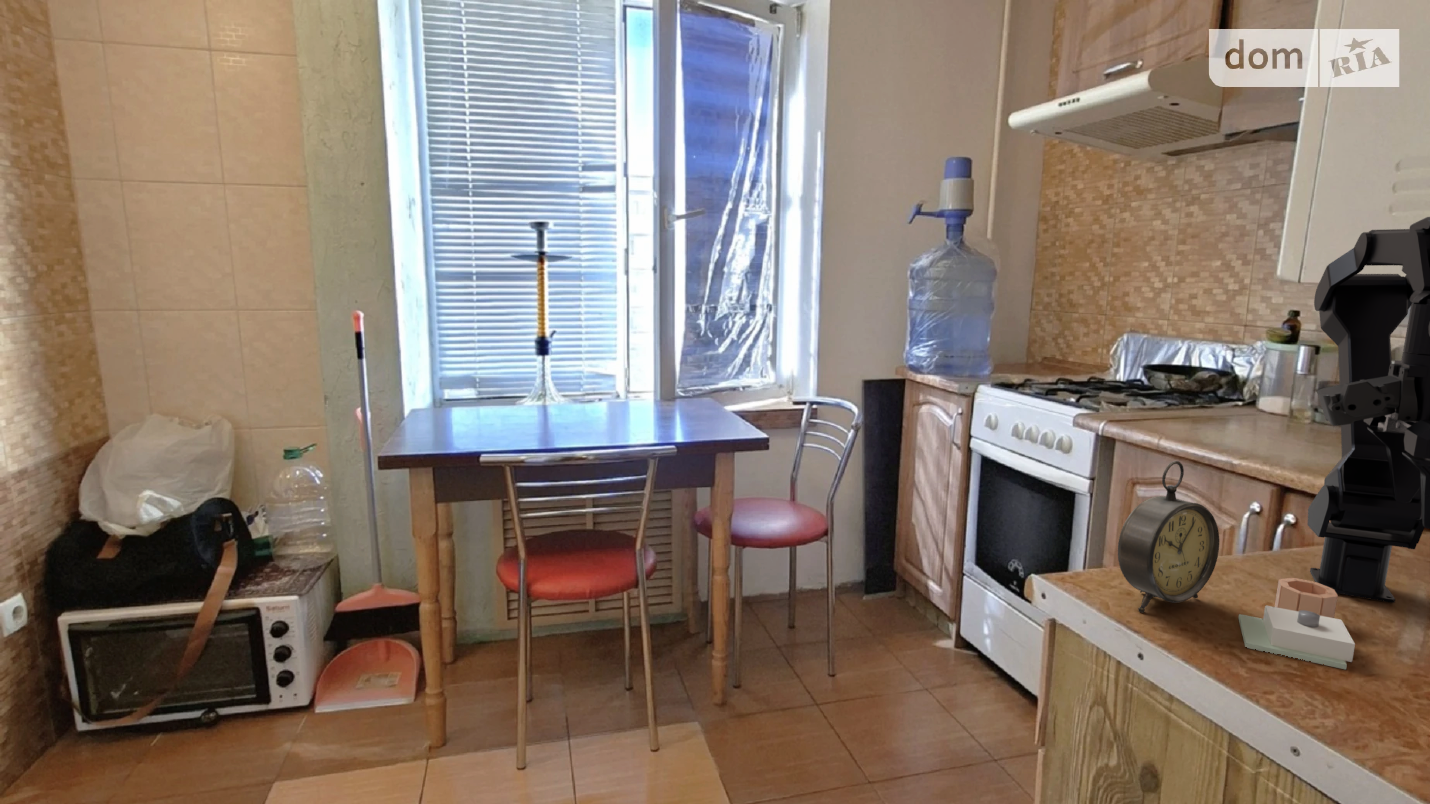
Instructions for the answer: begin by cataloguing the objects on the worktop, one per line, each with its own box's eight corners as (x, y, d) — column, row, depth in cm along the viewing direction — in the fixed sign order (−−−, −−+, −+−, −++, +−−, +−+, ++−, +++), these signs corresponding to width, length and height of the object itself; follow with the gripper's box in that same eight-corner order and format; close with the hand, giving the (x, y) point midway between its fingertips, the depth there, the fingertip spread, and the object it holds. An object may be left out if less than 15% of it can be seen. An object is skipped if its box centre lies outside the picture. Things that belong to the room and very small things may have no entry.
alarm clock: (1146, 621, 74) (1164, 472, 71) (1101, 599, 79) (1116, 459, 76) (1215, 603, 78) (1235, 461, 75) (1169, 584, 83) (1185, 450, 80)
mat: (1238, 618, 75) (1238, 613, 75) (1330, 636, 71) (1331, 632, 71) (1245, 647, 69) (1246, 642, 69) (1346, 669, 65) (1346, 664, 65)
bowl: (1272, 604, 78) (1276, 575, 77) (1326, 615, 76) (1331, 584, 75) (1278, 622, 74) (1283, 590, 73) (1335, 633, 72) (1340, 601, 71)
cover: (1262, 621, 73) (1266, 596, 73) (1338, 636, 70) (1342, 610, 70) (1270, 644, 69) (1274, 618, 68) (1351, 662, 65) (1356, 634, 65)
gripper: (1314, 342, 78) (1293, 478, 80) (1354, 358, 62) (1327, 528, 65) (1455, 347, 72) (1428, 494, 75) (1539, 367, 56) (1500, 552, 59)
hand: (1415, 514), depth 68 cm, fingers open, 9 cm apart
